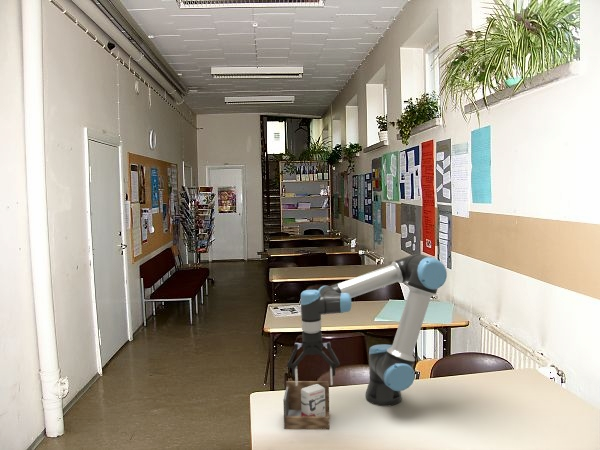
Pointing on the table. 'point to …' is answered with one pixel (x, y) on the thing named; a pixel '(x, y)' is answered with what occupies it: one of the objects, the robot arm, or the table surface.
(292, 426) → the open wooden box
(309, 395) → the ink box
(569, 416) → the table surface
